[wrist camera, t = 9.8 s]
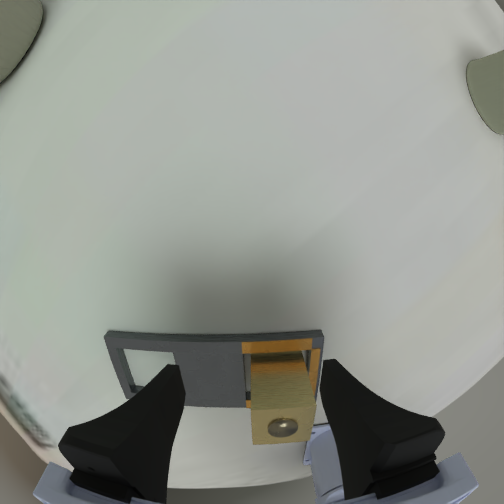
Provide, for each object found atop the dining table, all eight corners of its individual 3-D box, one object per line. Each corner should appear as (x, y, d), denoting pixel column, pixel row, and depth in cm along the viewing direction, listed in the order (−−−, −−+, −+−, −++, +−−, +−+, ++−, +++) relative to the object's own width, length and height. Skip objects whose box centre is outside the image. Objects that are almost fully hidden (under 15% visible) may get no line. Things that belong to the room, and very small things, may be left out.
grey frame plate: (313, 394, 25) (316, 403, 24) (129, 391, 25) (126, 399, 24) (321, 329, 23) (324, 337, 22) (108, 330, 23) (103, 337, 22)
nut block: (297, 383, 24) (310, 442, 17) (252, 385, 24) (252, 446, 17) (300, 347, 23) (317, 407, 16) (250, 350, 23) (250, 412, 16)
